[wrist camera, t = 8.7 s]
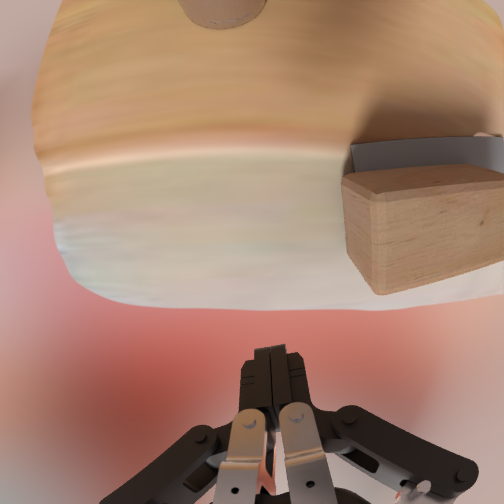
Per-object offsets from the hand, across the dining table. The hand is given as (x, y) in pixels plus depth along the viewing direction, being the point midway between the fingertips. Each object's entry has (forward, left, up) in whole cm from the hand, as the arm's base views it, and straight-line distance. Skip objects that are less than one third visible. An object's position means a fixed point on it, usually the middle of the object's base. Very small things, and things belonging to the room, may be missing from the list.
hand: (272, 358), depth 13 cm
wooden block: (0, +9, -14) cm, 17 cm away
